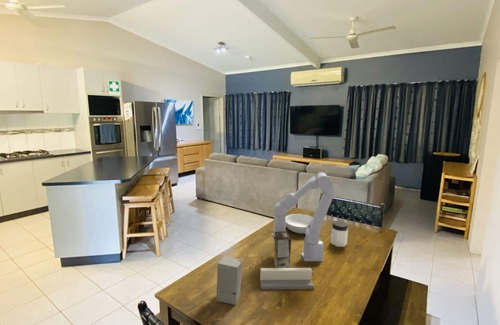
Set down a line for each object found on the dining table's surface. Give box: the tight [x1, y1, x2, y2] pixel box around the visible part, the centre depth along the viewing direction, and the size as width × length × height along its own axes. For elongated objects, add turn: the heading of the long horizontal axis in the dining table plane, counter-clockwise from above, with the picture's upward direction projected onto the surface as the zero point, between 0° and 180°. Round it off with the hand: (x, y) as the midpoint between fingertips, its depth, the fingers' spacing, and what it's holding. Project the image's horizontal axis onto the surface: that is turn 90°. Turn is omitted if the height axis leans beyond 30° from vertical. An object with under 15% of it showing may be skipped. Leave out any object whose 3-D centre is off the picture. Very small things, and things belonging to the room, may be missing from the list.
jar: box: [330, 220, 349, 248], centre depth 151 cm, size 9×8×12 cm
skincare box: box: [215, 255, 243, 306], centre depth 105 cm, size 8×7×16 cm
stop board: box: [259, 267, 315, 290], centre depth 114 cm, size 22×6×6 cm, turn 92°
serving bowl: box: [285, 213, 314, 235], centre depth 169 cm, size 21×21×7 cm
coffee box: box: [273, 230, 292, 268], centre depth 127 cm, size 9×6×16 cm
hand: (278, 251), depth 138 cm, fingers closed
